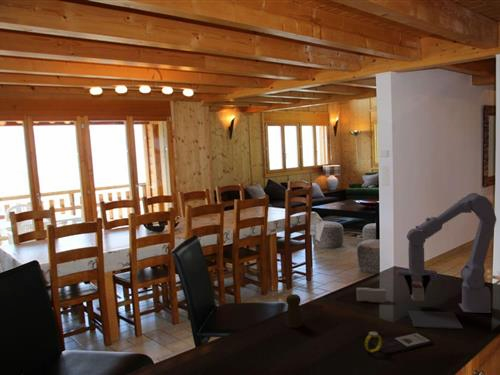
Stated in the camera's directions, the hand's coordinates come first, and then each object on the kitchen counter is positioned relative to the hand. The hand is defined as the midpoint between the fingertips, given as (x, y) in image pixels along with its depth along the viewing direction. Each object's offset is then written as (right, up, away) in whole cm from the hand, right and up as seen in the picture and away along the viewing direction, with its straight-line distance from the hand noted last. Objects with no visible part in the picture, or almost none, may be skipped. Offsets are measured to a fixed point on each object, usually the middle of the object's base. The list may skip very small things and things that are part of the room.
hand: (417, 294), depth 169 cm
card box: (0, -1, 0) cm, 2 cm away
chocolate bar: (-16, -10, -28) cm, 34 cm away
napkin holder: (-15, -6, +11) cm, 20 cm away
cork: (-49, -9, -9) cm, 51 cm away
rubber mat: (+2, -7, -12) cm, 14 cm away
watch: (-26, -10, -32) cm, 43 cm away
